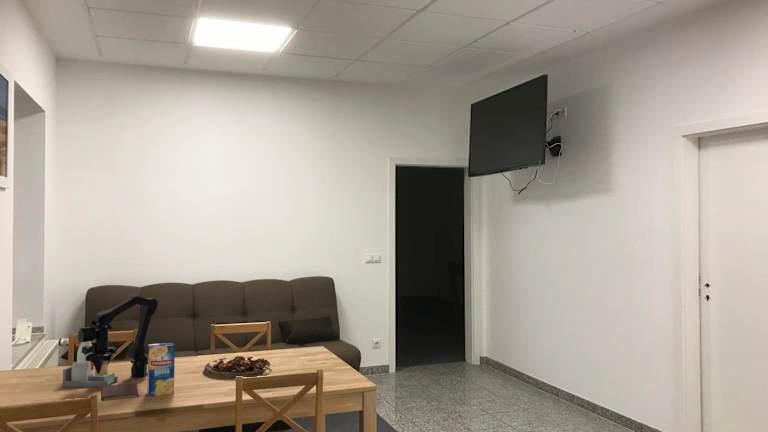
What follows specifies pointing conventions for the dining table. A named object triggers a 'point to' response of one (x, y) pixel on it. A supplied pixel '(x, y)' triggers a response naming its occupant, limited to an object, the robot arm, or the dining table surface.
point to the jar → (103, 369)
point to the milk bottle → (82, 358)
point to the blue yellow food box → (160, 369)
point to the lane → (92, 381)
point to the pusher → (109, 378)
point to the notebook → (119, 391)
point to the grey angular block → (79, 372)
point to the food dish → (235, 368)
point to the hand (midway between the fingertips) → (101, 371)
